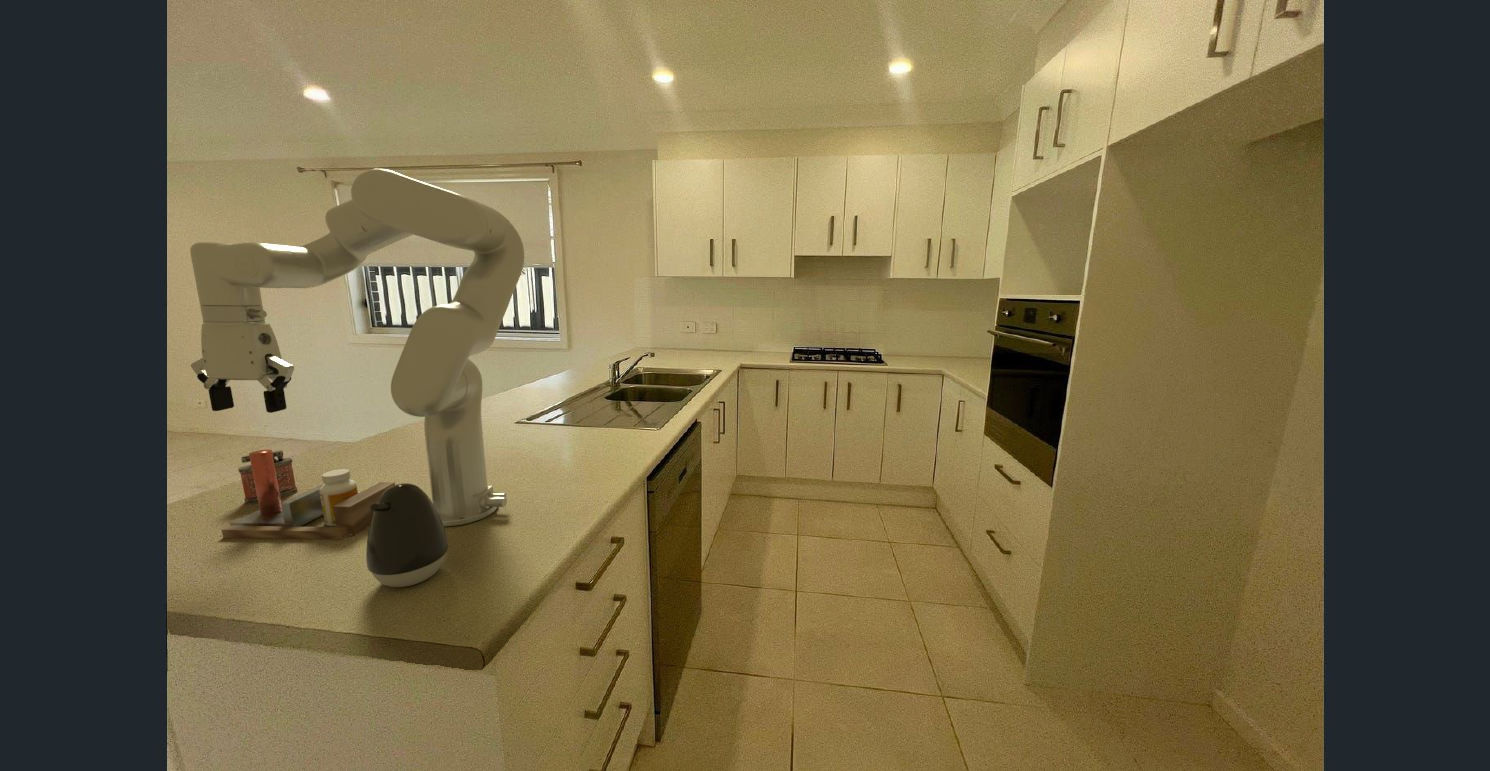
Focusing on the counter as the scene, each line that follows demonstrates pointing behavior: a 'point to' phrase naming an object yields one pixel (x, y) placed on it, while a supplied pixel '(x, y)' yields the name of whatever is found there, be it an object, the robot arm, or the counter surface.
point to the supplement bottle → (335, 492)
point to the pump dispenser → (405, 537)
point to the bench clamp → (348, 522)
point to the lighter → (282, 472)
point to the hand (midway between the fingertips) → (250, 410)
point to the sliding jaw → (278, 498)
